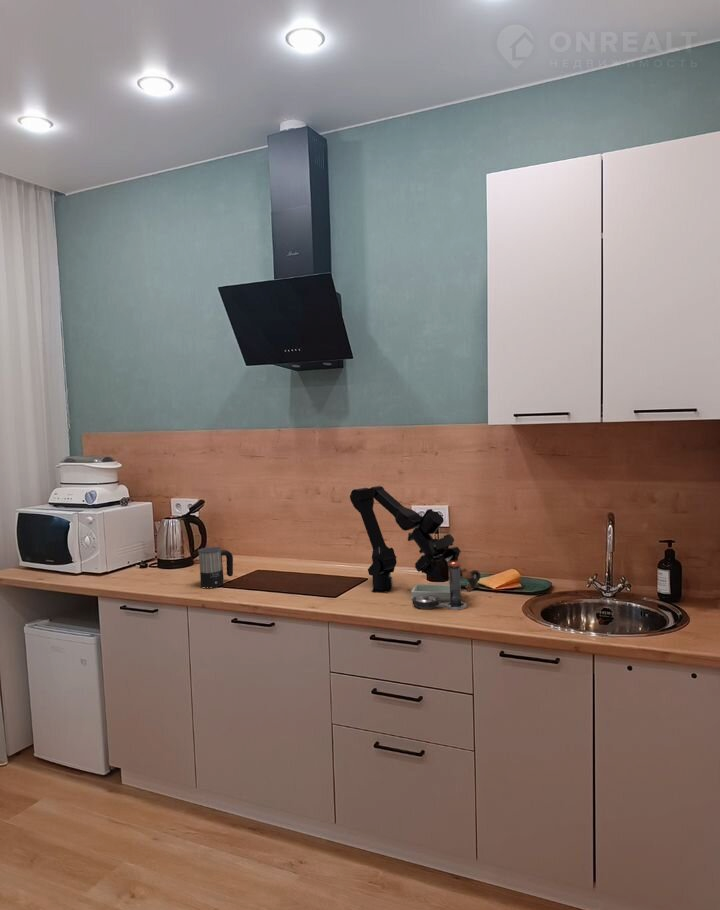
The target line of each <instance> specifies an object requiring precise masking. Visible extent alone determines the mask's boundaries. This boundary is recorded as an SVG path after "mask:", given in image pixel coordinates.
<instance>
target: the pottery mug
mask: <svg viewBox="0 0 720 910" xmlns="http://www.w3.org/2000/svg"><path fill="white" fill-rule="evenodd" d="M461 572H462V576H461V577H462V578H463V579H464V580H467V582H468V584H467V585H465V586H464V588H465V589H466V592H471V591H473V590H476V589H475V586H476V587H477V583H478V582H479V581H480V579H481V573H480V571H479V570H476V569H475V570H472V571H468V570H467V568H462V569H461ZM474 576H476V577H474ZM448 579H449V576H448ZM449 584H450V580H449Z"/></svg>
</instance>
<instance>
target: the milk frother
mask: <svg viewBox="0 0 720 910" xmlns="http://www.w3.org/2000/svg"><path fill="white" fill-rule="evenodd" d="M197 552H198V561H199V574H200V575H199V576H200V585H201V587H206V588H207V587H208V588H210V587H217V588H219V587H218V586H221V585H223V584H225V583H224V579H225V578H224V568H223V567H224V566H223V556H225V557H226V575H227V576H228V577H232V576H233V575H234V567H233V566H234V557H233V553H232V552H231V551H229V550H226V549H222V547H220V546H211V547H210V546H207V547H204V548H203V547H202V548H200V549H198V550H197ZM223 586H224V585H223ZM201 587H200V588H201ZM221 587H222V586H221ZM210 589H211V588H210Z"/></svg>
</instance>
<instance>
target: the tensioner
mask: <svg viewBox="0 0 720 910" xmlns="http://www.w3.org/2000/svg"><path fill="white" fill-rule="evenodd" d="M411 601H412V605H414V606H415V608H418V609H423V610H428V609H434V608H445V609H447V610H452V611H455V610H457V611H460V610H463V609H466V608H467V603H466V602H463V601H461V606H459V607H452V606H450V601H447V602H440V601H439V597H436V596H433V595H421V596H417V597H414V598H413V600H411Z"/></svg>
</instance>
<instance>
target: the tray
mask: <svg viewBox="0 0 720 910" xmlns="http://www.w3.org/2000/svg"><path fill="white" fill-rule="evenodd" d="M421 595H433V596H436V597H439V602H450V584H424V583H423V584H419V583H418V584H414V587H413V588H412V589H411V592H410V596H411V601H412V600H413V598H414V597H417V596H421Z"/></svg>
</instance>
